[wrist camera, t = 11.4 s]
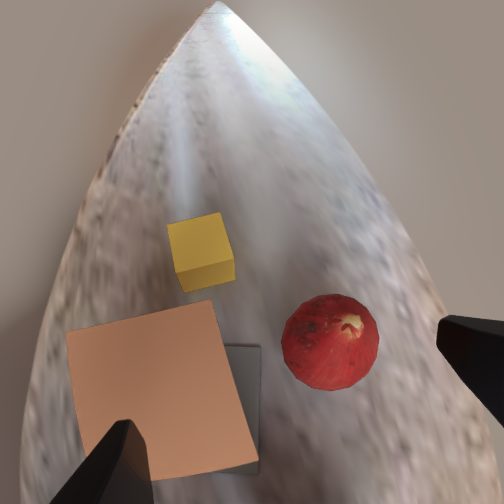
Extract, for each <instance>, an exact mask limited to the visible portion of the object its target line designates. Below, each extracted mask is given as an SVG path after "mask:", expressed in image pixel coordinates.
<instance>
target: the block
mask: <svg viewBox="0 0 504 504" xmlns="http://www.w3.org/2000/svg"><path fill="white" fill-rule="evenodd" d="M167 229H168V235H169V240H170V246H171V251H172V257H173V262H174V267H175V272H176V275H177V277H178V279H179V282H180V284H181V286H182V289H183V291H184V293H186V292H190V291H194V290H198V289H202V288H206V287H210V286H214V285H218V284H222V283H226V282H230V281H234V280H236V278H235V262H234V256H233V253H232V249H231V246H230V243H229V240H228V236H227V233H226V230H225V226H224V223H223V220H222V217H221V213H220V212H218V213H214V214H210V215H205V216H201V217H197V218H193V219H189V220H185V221H181V222H177V223H173V224H169V225H167Z"/></svg>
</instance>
